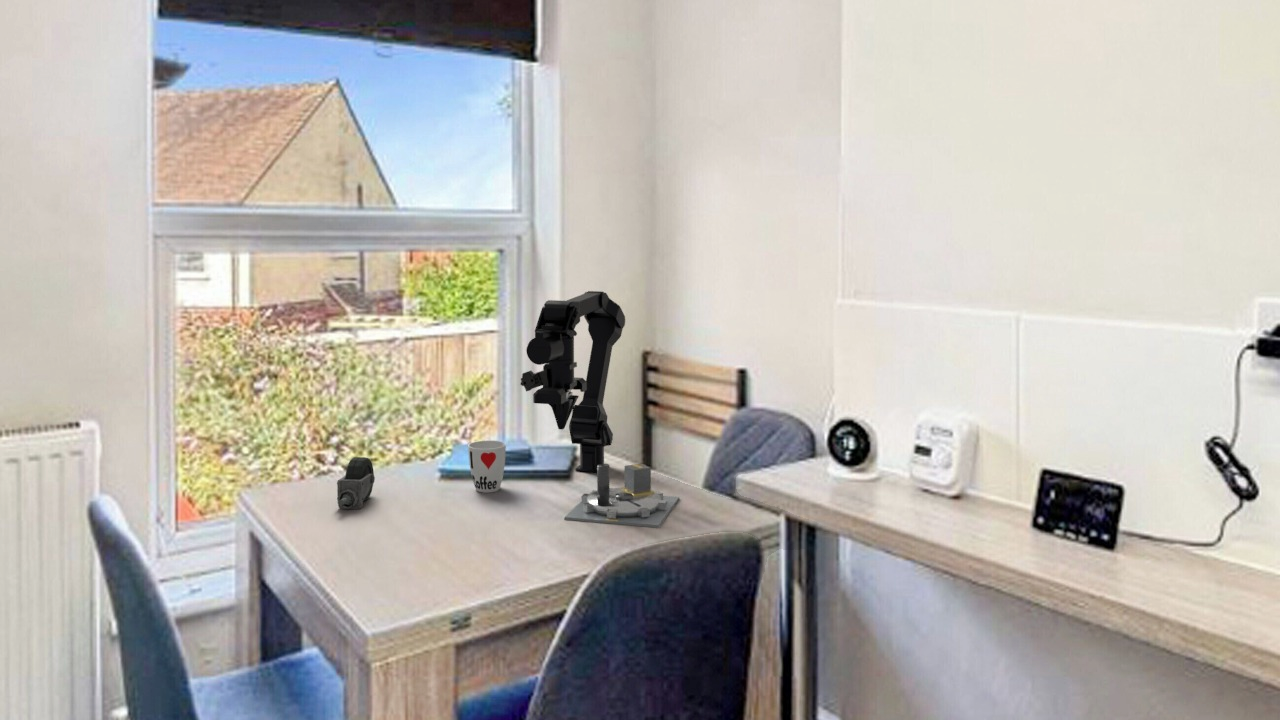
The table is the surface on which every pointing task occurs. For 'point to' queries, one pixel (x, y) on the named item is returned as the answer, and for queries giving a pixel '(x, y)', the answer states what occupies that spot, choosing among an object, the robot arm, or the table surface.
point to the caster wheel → (355, 483)
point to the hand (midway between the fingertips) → (561, 429)
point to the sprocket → (620, 499)
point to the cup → (487, 464)
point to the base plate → (650, 521)
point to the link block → (637, 478)
